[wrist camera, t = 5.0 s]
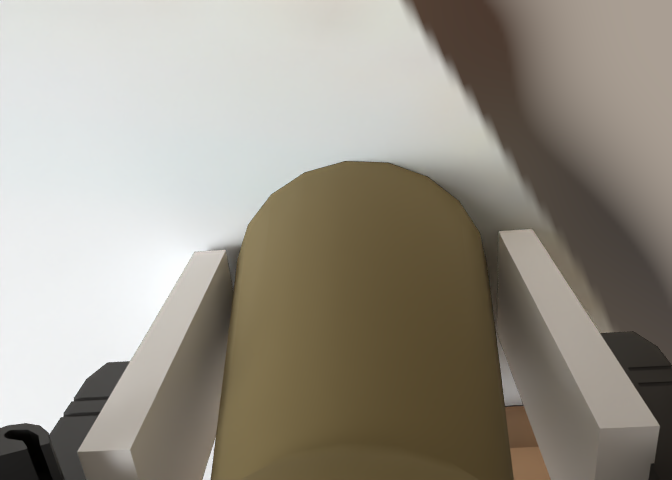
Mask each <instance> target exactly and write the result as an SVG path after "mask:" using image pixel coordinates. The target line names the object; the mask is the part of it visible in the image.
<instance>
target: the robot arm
mask: <svg viewBox="0 0 672 480" xmlns="http://www.w3.org/2000/svg"><path fill="white" fill-rule="evenodd" d="M232 299H233V286H232V281H231V275H230V270H229V264H228V259H227V253H226V250H215V251H200V252H194V254H193V255H192V257H191V259H190V260H189V262H188V264H187V265H186V267H185V269H184V271H183V272H182V274H181V276H180V277H179V279H178V281H177V282H176V284H175V286H174V288H173V289H172V291H171V293H170V294H169V296H168V298H167V300H166V301H165V303H164V305H163V306H162V308H161V310H160V311H159V313H158V315H157V317H156V318H155V320H154V322H153V323H152V325H151V327H150V329H149V330H148V332H147V334H146V335H145V337H144V339H143V340H142V342H141V344H140V346H139V347H138V349H137V351H136V352H135V354H134V356H133V357H132V359H131V361H127V362H109V363H106V364H105V365H104V366H102V367H101V368H100V369H99V370H97V371H96V372H95V373H94V374H92V375H91V376H90V377H89V378H87V379H86V381H85V382H84V384H83V385H82V387H81V388H80V390H79V391H78V393H77V394H76V396H75V397H74V402H71V403H70V405H69V406H68V408H67V409H66V411H65V412H64V417H61V418H60V420H59V421H58V423H57V424H56V426H55V427H54V429H53V430H52V432H51V433H50V435H49V433H48V432H47V431H46V430H45V429H43V428H42V427H41V426H39V425H33V424H27V423H24V424H16V425H8V426H5V427H2V428H0V480H202V479H203V476H204V472H205V469H206V466H207V463H208V460H209V456H210V453H211V450H212V447H213V443H214V440H215V437H216V432H217V423H218V415H219V407H220V399H221V390H222V382H223V374H224V365H225V357H226V349H227V340H228V332H229V324H230V316H231V307H232ZM497 334H498V337H499V340H500V343H501V345H502V348H503V351H504V353H505V356H506V359H507V362H508V364H509V367H510V370H511V373H512V375H513V378H514V381H515V383H516V386H517V389H518V392H519V394H520V397H521V400H522V402H523V405H524V408H525V411H526V413H527V416H528V419H529V422H530V424H531V427H532V430H533V432H534V435H535V438H536V441H537V443H538V446H539V449H540V452H541V454H542V457H543V460H544V462H545V465H546V468H547V471H548V473H549V476H550V479H551V480H672V365H671V363H670V362H669V361H668V360H667V358H666V357H665V356H664V355H663V353H662V352H661V351H660V349H659V348H658V347H657V346H656V345H654V344H652V343H651V342H649V341H648V340H646V339H645V338H643V337H641V336H640V335H638V334H637V333H635V332H616V333H599V331H598V330H597V328H596V326H595V325H594V323H593V322H592V320H591V319H590V317H589V316H588V314H587V313H586V311H585V309H584V308H583V306H582V305H581V303H580V302H579V300H578V299H577V297H576V296H575V294H574V292H573V291H572V289H571V288H570V286H569V285H568V283H567V282H566V280H565V279H564V277H563V275H562V274H561V272H560V271H559V269H558V268H557V266H556V265H555V263H554V262H553V260H552V259H551V257H550V255H549V254H548V252H547V251H546V249H545V248H544V246H543V245H542V243H541V242H540V240H539V238H538V237H537V235H536V234H535V232H534V231H533V229H523V230H508V231H499V232H498V295H497Z"/></svg>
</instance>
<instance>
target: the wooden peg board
mask: <svg viewBox="0 0 672 480" xmlns="http://www.w3.org/2000/svg"><path fill="white" fill-rule="evenodd" d="M505 412H506V420H507V428H508V436H509V444H510V452H511V460H512V468H513V477H514V480H551V479H550V476H549V473H548V471H547V468H546V465H545V462H544V460H543V457H542V454H541V452H540V449H539V446H538V443H537V441H536V438H535V435H534V432H533V430H532V427H531V424H530V422H529V419H528V416H527V413H526V411H525V408H524V406H512V407H505Z"/></svg>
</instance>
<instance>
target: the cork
mask: <svg viewBox="0 0 672 480" xmlns="http://www.w3.org/2000/svg"><path fill="white" fill-rule="evenodd" d="M211 480H514V477H513V468H512V460H511V452H510V444H509V436H508V428H507V420H506V412H505V404H504V396H503V388H502V380H501V372H500V364H499V355H498V347H497V339H496V331H495V323H494V315H493V307H492V299H491V291H490V283H489V275H488V267H487V263H486V258H485V254H484V249H483V245H482V240H481V236H480V232H479V231H478V229H477V228H476V226H475V225H474V223H473V222H472V220H471V219H470V217H469V215H468V214H467V212H466V211H465V209H464V208H463V206H462V205H461V203H460V202H459V201H458V200H457V199H456V198H454V197H453V196H452V195H451V194H449V193H448V192H447V191H445V190H444V189H443V188H442V187H440V186H439V185H438V184H436V183H435V182H434V181H432V180H431V179H430V178H429V177H427V176H424V175H421V174H419V173H416V172H413V171H410V170H407V169H404V168H402V167H399V166H396V165H393V164H390V163H382V162H353V161H344V162H341V163H337V164H334V165H330V166H326V167H323V168H319V169H315V170H312V171H308V172H305V173H303V174H302V175H300V176H299V177H297V178H296V179H294V180H293V181H291V182H290V183H288V184H287V185H285V186H284V187H282V188H281V189H279V190H277V191H276V192H274V193H273V194H271V196H270V197H269V198H268V199H267V201H266V202H265V203H264V205H263V206H262V207H261V209H260V210H259V211H258V212H257V214H256V215H255V216H254V218H253V219H252V220H251V222H250V223H249V224H248V227H247V230H246V233H245V236H244V239H243V242H242V246H241V249H240V252H239V255H238V258H237V266H236V274H235V282H234V291H233V299H232V307H231V316H230V324H229V332H228V340H227V349H226V357H225V365H224V374H223V382H222V390H221V399H220V407H219V415H218V423H217V432H216V440H215V448H214V457H213V465H212V473H211Z"/></svg>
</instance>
